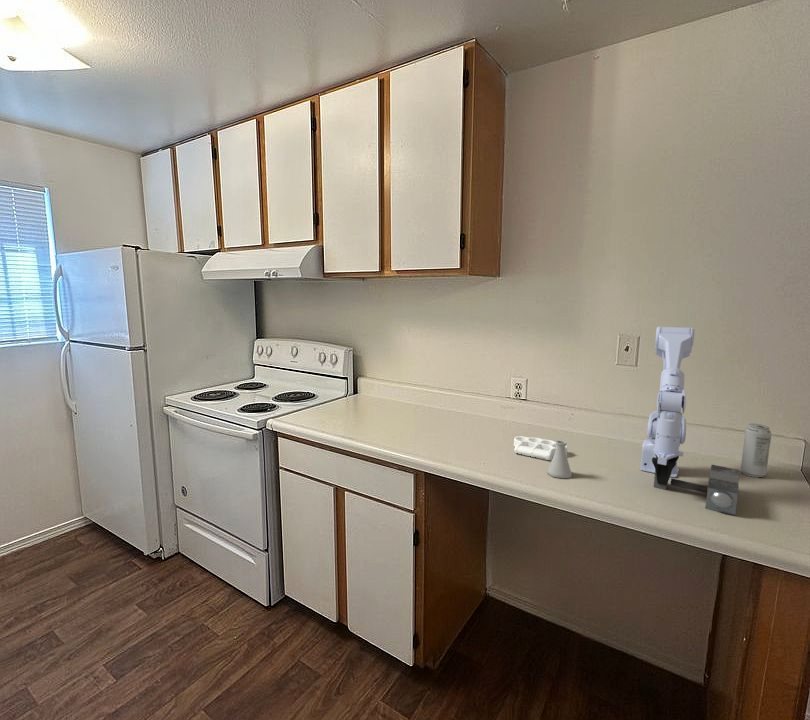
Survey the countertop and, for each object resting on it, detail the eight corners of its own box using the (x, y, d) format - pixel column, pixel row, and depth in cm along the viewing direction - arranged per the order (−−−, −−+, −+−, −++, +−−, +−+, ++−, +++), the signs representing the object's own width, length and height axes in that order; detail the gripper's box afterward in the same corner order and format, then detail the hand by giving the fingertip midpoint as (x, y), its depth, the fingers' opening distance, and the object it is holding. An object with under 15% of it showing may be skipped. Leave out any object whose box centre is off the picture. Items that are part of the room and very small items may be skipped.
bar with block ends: (653, 487, 122) (655, 470, 122) (655, 482, 126) (657, 465, 125) (736, 506, 111) (738, 488, 111) (736, 501, 115) (738, 482, 114)
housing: (705, 509, 110) (708, 484, 109) (709, 486, 123) (711, 464, 122) (735, 517, 106) (738, 491, 105) (735, 492, 120) (738, 469, 119)
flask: (543, 469, 135) (545, 437, 133) (567, 469, 134) (569, 438, 133) (550, 479, 128) (552, 445, 126) (575, 479, 127) (578, 446, 126)
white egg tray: (504, 453, 149) (519, 442, 161) (559, 465, 139) (570, 452, 151) (505, 444, 149) (520, 433, 161) (559, 455, 139) (571, 442, 151)
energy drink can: (754, 470, 135) (760, 422, 133) (771, 478, 129) (777, 428, 127) (735, 470, 135) (741, 423, 133) (751, 478, 129) (757, 428, 127)
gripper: (681, 444, 113) (676, 495, 115) (687, 431, 124) (683, 477, 126) (650, 439, 117) (646, 487, 119) (659, 426, 128) (654, 471, 130)
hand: (663, 481), depth 123 cm, fingers closed on bar with block ends, 3 cm apart
